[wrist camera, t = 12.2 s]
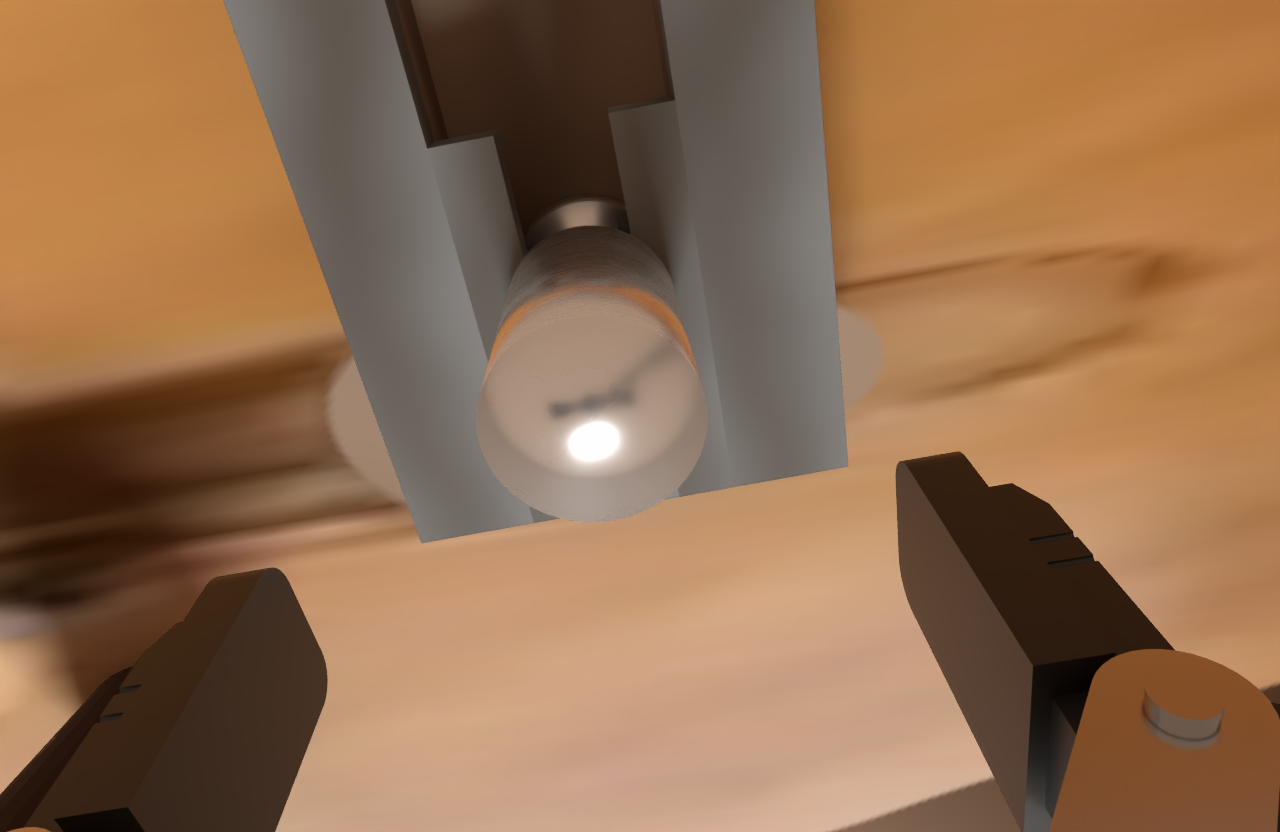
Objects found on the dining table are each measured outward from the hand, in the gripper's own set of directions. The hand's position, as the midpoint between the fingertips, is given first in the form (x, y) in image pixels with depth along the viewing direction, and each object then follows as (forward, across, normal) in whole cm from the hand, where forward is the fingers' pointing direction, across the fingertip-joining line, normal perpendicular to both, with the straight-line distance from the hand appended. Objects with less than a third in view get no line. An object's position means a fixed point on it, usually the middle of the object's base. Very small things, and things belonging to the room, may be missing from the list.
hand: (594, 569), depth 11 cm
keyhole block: (+15, 0, -3) cm, 15 cm away
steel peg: (+14, 0, 0) cm, 14 cm away
